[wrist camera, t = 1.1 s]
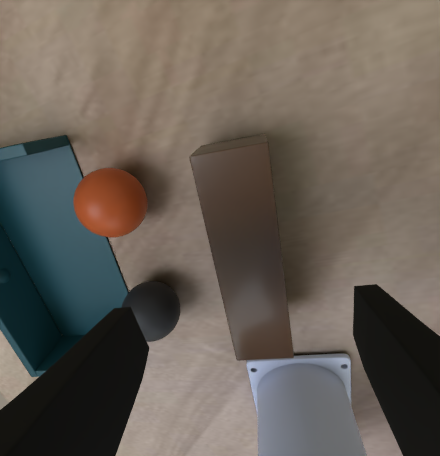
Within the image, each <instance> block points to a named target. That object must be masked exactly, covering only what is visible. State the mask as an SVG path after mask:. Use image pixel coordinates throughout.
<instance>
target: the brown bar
mask: <svg viewBox="0 0 440 456" xmlns="http://www.w3.org/2000/svg"><path fill="white" fill-rule="evenodd" d="M190 162H191V166H192V170H193V175H194V179H195V183H196V187H197V192H198V196H199V200H200V205H201V209H202V213H203V217H204V222H205V226H206V230H207V235H208V239H209V243H210V247H211V252H212V256H213V260H214V265H215V269H216V273H217V277H218V282H219V286H220V290H221V295H222V299H223V303H224V307H225V312H226V316H227V320H228V325H229V329H230V333H231V338H232V342H233V346H234V350H235V355H236V359H237V360H260V359H282V358H294V354H293V345H292V337H291V329H290V320H289V312H288V304H287V295H286V287H285V279H284V270H283V262H282V254H281V246H280V237H279V229H278V221H277V212H276V204H275V196H274V187H273V179H272V171H271V162H270V154H269V146H268V141H267V138H266V135H265V134H262V135H256V136H251V137H246V138H240V139H235V140H230V141H224V142H219V143H214V144H208V145H203V146H201V147H200V148H198V149H197V150H196V151H195V152H194V153H193V154H192V155H191V156H190Z"/></svg>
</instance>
